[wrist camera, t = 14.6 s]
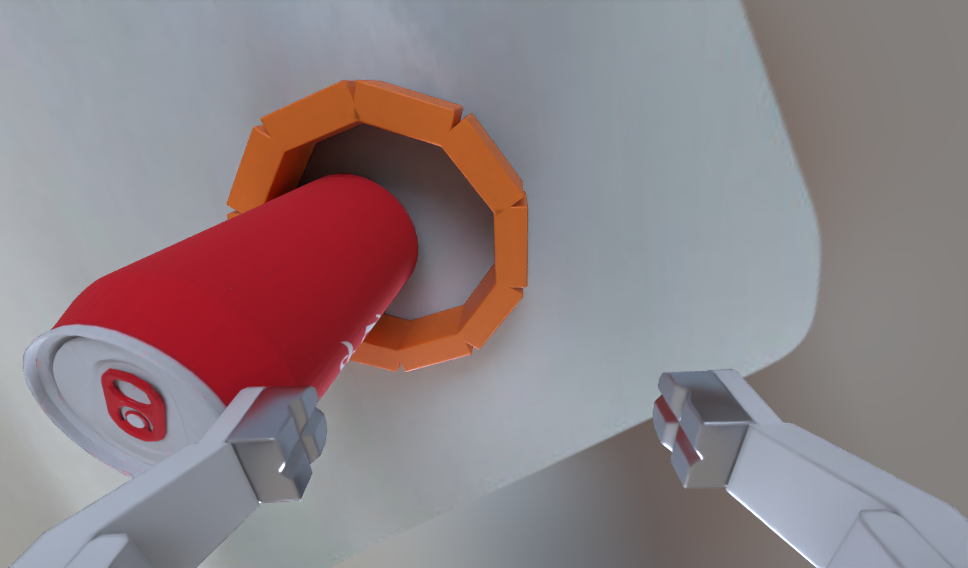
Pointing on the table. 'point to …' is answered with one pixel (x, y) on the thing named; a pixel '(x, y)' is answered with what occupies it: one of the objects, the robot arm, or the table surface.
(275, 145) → the ring
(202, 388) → the beverage can
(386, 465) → the table surface
